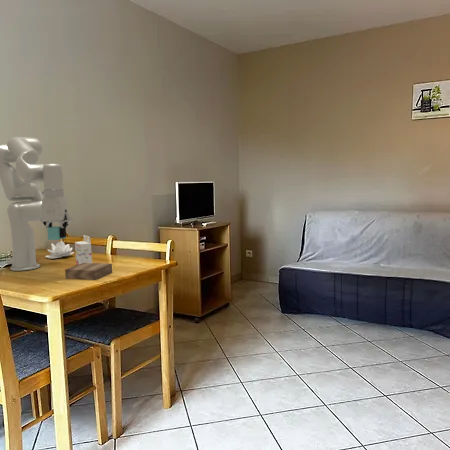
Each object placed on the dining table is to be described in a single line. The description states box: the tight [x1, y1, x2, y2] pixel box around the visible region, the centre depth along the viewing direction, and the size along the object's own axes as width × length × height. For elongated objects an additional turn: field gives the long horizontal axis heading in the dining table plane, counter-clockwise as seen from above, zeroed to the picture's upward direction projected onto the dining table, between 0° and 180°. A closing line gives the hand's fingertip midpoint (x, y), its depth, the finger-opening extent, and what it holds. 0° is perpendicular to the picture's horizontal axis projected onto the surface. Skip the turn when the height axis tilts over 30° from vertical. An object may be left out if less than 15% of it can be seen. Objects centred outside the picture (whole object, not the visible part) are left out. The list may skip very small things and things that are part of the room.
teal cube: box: [46, 225, 67, 241], centre depth 172 cm, size 5×5×5 cm
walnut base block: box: [64, 262, 113, 281], centre depth 177 cm, size 14×14×4 cm
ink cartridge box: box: [74, 234, 93, 266], centre depth 196 cm, size 9×5×15 cm, turn 41°
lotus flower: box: [44, 240, 76, 260], centre depth 222 cm, size 14×15×9 cm
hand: (57, 236), depth 172 cm, fingers closed on teal cube, 5 cm apart
